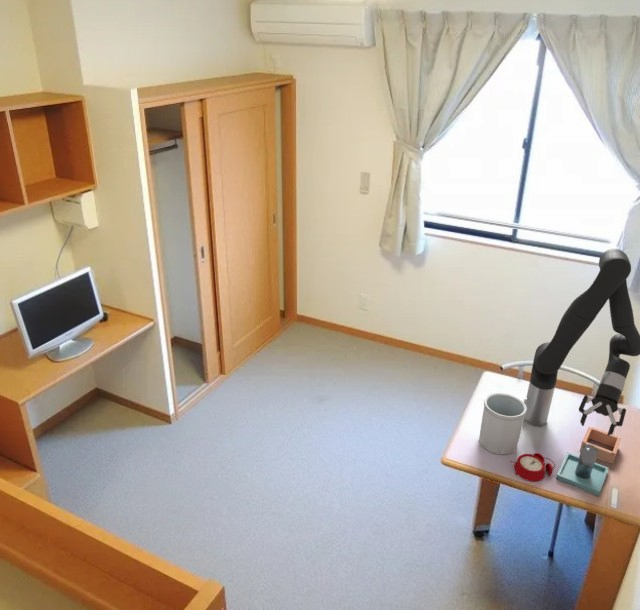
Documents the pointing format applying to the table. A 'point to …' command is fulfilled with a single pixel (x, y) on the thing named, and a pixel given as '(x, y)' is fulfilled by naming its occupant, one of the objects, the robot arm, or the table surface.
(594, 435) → the light orange open box
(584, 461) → the canister
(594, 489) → the teal tray
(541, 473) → the alarm clock
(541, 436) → the table surface
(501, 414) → the utensil holder
